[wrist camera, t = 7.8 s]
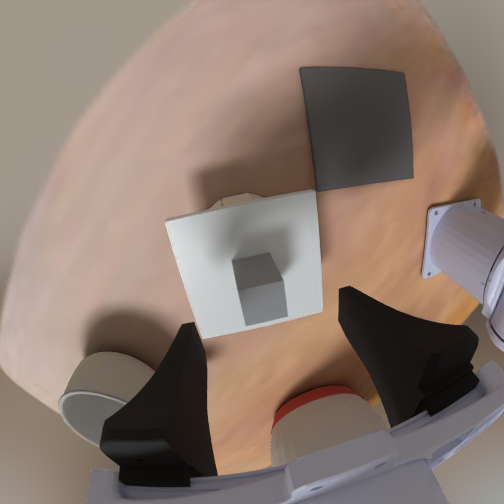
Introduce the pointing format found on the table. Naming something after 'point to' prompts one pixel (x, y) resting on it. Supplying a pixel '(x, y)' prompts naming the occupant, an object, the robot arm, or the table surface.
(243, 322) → the lid
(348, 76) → the mat
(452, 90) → the table surface
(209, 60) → the table surface
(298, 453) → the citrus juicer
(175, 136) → the table surface
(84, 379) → the teacup
